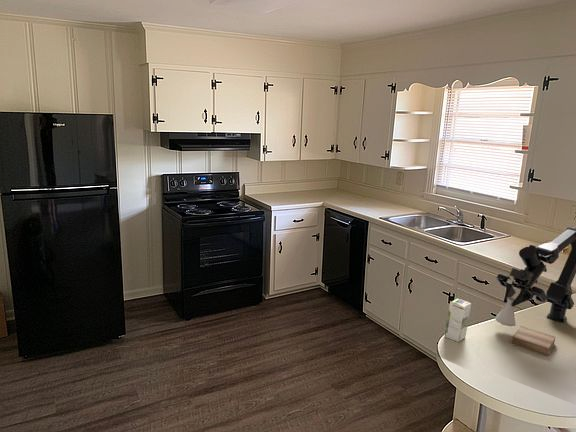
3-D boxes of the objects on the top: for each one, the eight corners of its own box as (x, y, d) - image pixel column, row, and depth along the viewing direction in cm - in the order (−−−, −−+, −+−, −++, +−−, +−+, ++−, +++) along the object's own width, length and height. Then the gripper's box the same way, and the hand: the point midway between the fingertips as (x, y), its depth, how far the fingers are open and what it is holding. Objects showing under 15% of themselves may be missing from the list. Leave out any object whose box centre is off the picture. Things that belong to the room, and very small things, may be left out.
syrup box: (451, 332, 173) (456, 297, 169) (465, 338, 169) (471, 302, 165) (444, 336, 169) (449, 301, 166) (459, 343, 165) (464, 306, 161)
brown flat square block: (519, 332, 175) (520, 325, 175) (554, 344, 168) (555, 336, 167) (511, 343, 166) (512, 336, 166) (547, 356, 159) (548, 348, 158)
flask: (507, 318, 178) (514, 295, 176) (519, 327, 172) (526, 303, 169) (491, 317, 177) (497, 294, 175) (502, 326, 170) (509, 302, 168)
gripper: (502, 253, 178) (480, 283, 176) (547, 269, 162) (523, 302, 160) (512, 269, 183) (490, 299, 181) (557, 286, 168) (533, 318, 165)
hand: (508, 304), depth 172 cm, fingers closed on flask, 3 cm apart
